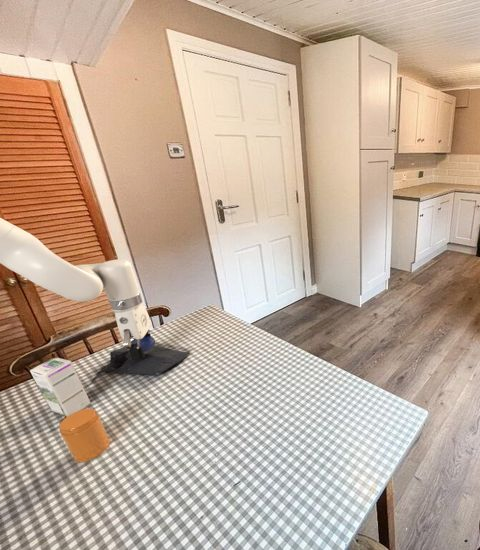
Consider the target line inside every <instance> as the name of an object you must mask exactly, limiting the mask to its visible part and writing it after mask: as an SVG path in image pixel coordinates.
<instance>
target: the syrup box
mask: <svg viewBox="0 0 480 550" xmlns="http://www.w3.org/2000/svg"><path fill="white" fill-rule="evenodd" d="M29 372H30V374H31V376H32V378H33V379H34V382H35V384H36V385H37V387H38V389H39V391H40V392H41V395H42V397H43V398H44V400H45V402H46V404H47V406H48V408H49V409H50V411H52V412H54V413H57V414H61V415H63V416H64V419H65V418H66V417H67V416H69V415H71V414H72V413H74V412H77V411H79V410H82V409H86V407H87V406H89V405H91V400H90V398H89V396H88V394H87V392H86V390H85V388H84V385H83V383H82V381H81V379H80V377H79V375H78V373H77V371H76V369H75V367H74V364H73V362H72V361H71V360H68V359H64V358H61V357H57V356H56V357H53V358H50V359H48V360H47V361H44V362H43V363H40V364H39V365H36V366H35V367H34V368H32V369H30V370H29Z"/></svg>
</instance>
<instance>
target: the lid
mask: <svg viewBox="0 0 480 550" xmlns="http://www.w3.org/2000/svg"><path fill="white" fill-rule="evenodd" d="M139 342H140V347H141V346H142V349H143V352H144V351H147V350H149V349H151V348H152V347H153V346H154V345H156V339H155V338H154V336H151V337H150V336H145V337H143V338H142V339H139ZM131 343H132V344H136V340H135V341H131ZM127 350H128V349H127ZM128 352H129V350H128ZM129 353H130V352H129Z"/></svg>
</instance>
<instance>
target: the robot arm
mask: <svg viewBox="0 0 480 550" xmlns="http://www.w3.org/2000/svg"><path fill="white" fill-rule="evenodd" d="M0 265H2V266H3V267H5V268H7V269H9V270H10V271H12V272H14V273H16V274H18V275H19V276H20V277H23V278H25V279H26V280H27V281H30V282H31V283H33V284H35V285H37V286H39V287H41V288H43V289H45V290H46V291H50V292H52V293H54V294H56V295H59V296H61V297H63V298H65V299H67V300H70V301H74V302H79V303H85V302H91V301H93V300H96V299H97V298H98V297H99V296H100V295H101V294H102V293H103V290H104V292H105V295H106V298H107V301H108V303H109V306H110V309H111V311H112V312H114V317H115V320H116V321H115V322H116V325H117V328H118V332H119V335H120V337H121V340H122V345H123V346H122V347H126V348H127V349H128V350H129V352H130V355H131V358H132V360H138V359H143V358H144V357H145V355H144V352H143V349H142V346H141V347H140V342H139V339H142V338H143V337H145V336H150V337H152V336H151V332H150V331H151V330H150V328H151V326H152V321H151V318H150V315H149V312H148V309H147V308H146V306H145V303H144V301H143V297H142V295H141V291H140V288H139V285H138V281H137V279H136V275H135V272H134V269H133V266H132V263H131V262H130V261H129V260H127V259H121V258H119V259H112V260H111V259H110V260H106V261H104V262H100V263H99V262H97V263H89V264H86V263H85V264H76V265H74V264H71V263H70V262H68V261H67V260H65V259H63V258H62V257H60V256H58V255H57V254H56V253H55V252H53V251H52V250H50V249H49V248H48V247H46V246H45V244H44V243H42V241H40V240H39V238H37V237H36V236H35V235H33V234H31V233H30V232H28V231H26V230H24V229H22V228H20V226H19V227H18V226H17V225H15V224H12V223H11V222H9V221H7V220H5V219H3V218H2V217H0ZM135 340H136V344H132V343H131V341H135Z"/></svg>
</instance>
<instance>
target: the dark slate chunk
mask: <svg viewBox="0 0 480 550" xmlns="http://www.w3.org/2000/svg"><path fill="white" fill-rule="evenodd" d="M144 355H145V357H144V358H143V359H138V360H132V358H131V355H130V353H129V352H128V350H127V348H126V347H124V346H122V347H120V348H117V349H114V350H112V351H110V359H109V364H108V365H107V366H105V367H104V368H103V369H101V371H102V372H104V373H114V374H121V375H123V374H124V375H129V374H133V375H140V376H141V375H143V376H144V375H145V376H154V375H161V374H162V373H164V372H166V371H167V370H169V369H170V368H172V367H173V366H174V365H176V364H179V363H180V362H181V361H183V360H185V359H186V358H187V357H188V356H189V355H190V352H187V351H180V350H177V349H173V348H169V347H164V346H161V345H157V344H155V345H154V346H153V347H152V348H151V349H149V350H147V351H144Z"/></svg>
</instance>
